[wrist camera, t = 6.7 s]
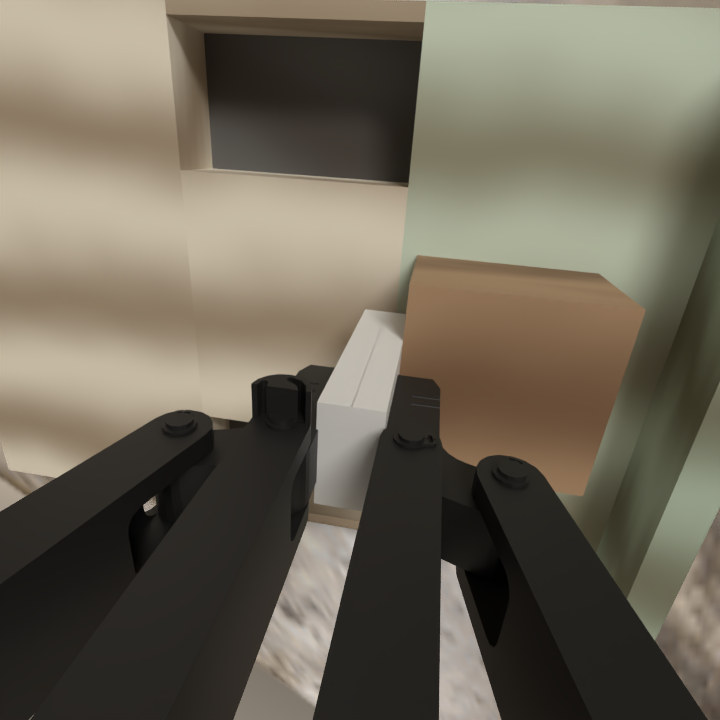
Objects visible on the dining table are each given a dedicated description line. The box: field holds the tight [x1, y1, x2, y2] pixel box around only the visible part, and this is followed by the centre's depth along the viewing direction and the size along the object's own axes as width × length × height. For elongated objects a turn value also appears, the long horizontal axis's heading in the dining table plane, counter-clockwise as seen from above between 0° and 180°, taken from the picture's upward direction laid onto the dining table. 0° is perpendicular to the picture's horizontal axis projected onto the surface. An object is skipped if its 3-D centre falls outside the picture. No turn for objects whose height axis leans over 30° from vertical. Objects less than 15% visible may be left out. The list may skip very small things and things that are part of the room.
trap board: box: [0, 0, 720, 640], centre depth 18 cm, size 20×30×6 cm, turn 86°
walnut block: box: [399, 255, 646, 496], centre depth 15 cm, size 6×6×4 cm
